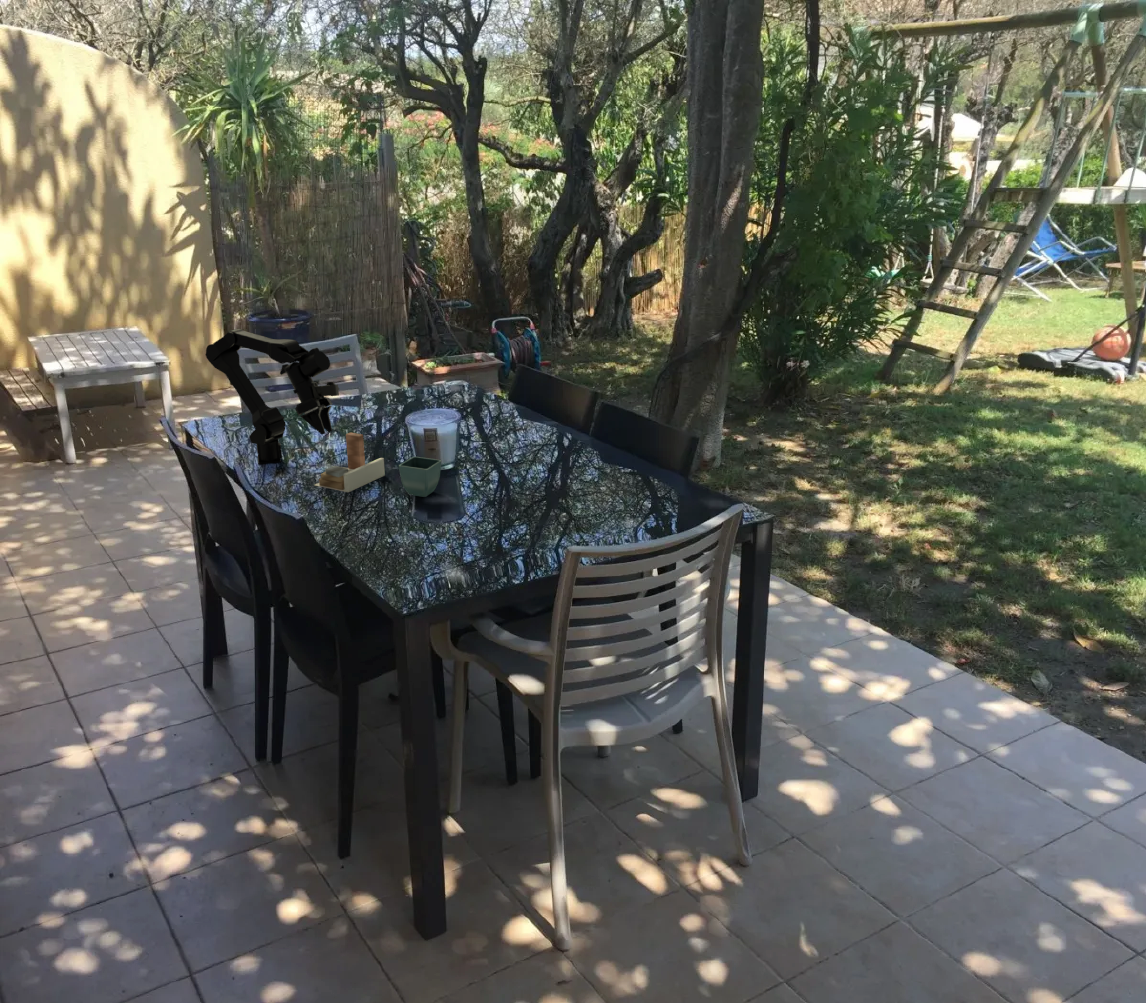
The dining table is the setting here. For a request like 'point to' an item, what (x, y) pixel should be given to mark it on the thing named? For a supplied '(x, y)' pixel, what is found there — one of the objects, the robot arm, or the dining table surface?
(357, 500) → the dining table surface
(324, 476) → the offcut stack
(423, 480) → the flower pot
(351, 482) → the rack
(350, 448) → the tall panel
